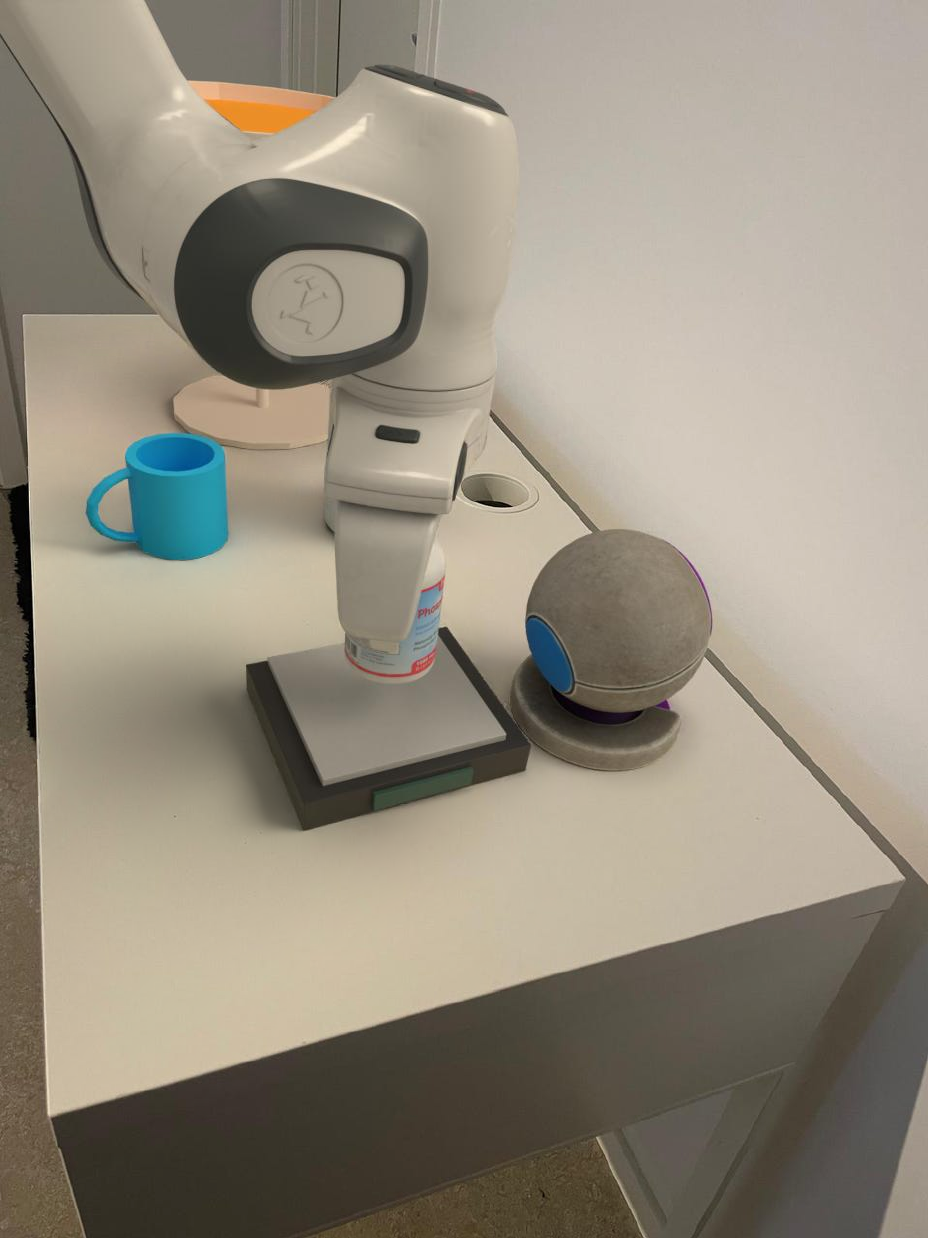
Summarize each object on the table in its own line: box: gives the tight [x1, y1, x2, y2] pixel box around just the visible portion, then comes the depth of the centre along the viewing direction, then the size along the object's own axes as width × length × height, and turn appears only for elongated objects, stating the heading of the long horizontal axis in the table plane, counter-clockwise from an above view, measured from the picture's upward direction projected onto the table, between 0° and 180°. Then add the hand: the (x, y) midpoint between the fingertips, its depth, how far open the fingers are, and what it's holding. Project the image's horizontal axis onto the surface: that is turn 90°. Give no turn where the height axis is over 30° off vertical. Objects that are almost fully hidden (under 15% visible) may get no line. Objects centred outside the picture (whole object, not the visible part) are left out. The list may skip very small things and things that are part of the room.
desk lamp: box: [172, 80, 336, 451], centre depth 96 cm, size 30×30×31 cm
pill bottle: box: [344, 525, 447, 684], centre depth 57 cm, size 6×6×11 cm
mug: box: [85, 432, 229, 561], centre depth 78 cm, size 12×8×8 cm
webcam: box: [509, 528, 713, 771], centre depth 65 cm, size 13×13×15 cm
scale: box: [245, 626, 532, 831], centre depth 64 cm, size 16×14×3 cm
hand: (393, 609), depth 58 cm, fingers closed on pill bottle, 6 cm apart
